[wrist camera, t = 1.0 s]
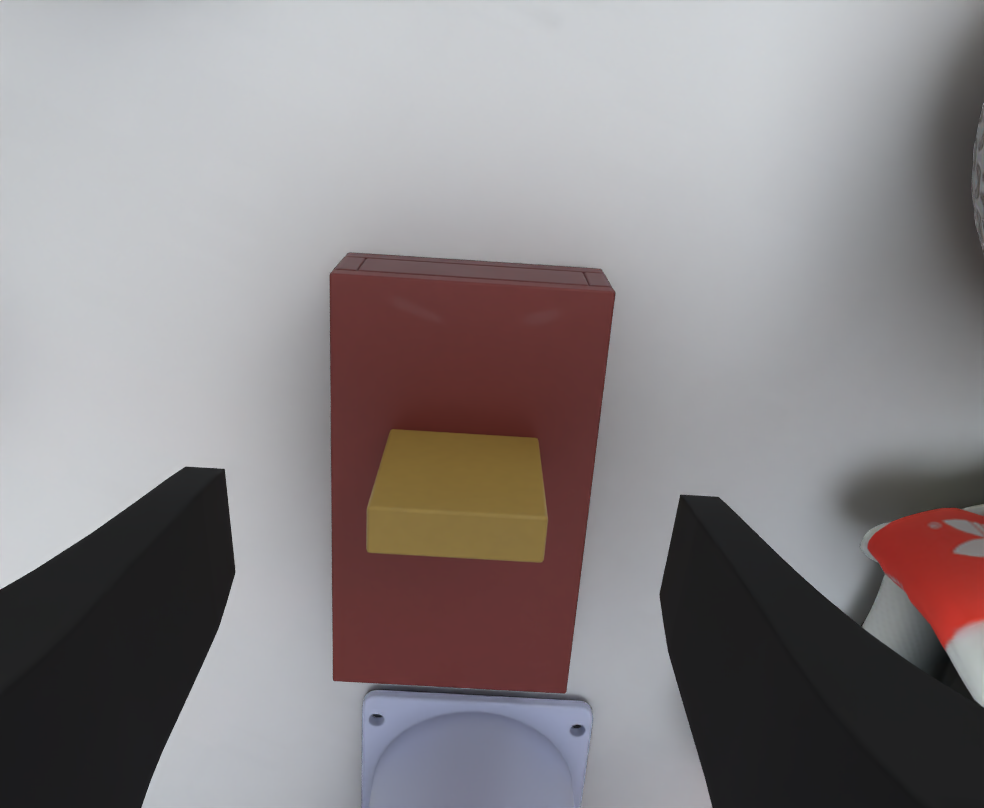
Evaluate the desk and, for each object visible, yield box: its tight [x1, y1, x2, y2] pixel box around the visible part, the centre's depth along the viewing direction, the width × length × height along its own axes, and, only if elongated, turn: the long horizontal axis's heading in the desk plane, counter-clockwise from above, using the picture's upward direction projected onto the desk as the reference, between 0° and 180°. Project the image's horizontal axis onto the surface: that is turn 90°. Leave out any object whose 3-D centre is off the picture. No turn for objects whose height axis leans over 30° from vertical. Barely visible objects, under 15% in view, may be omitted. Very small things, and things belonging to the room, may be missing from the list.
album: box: [334, 253, 612, 288], centre depth 24 cm, size 12×7×2 cm, turn 176°
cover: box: [330, 270, 615, 693], centre depth 21 cm, size 13×7×5 cm, turn 176°
